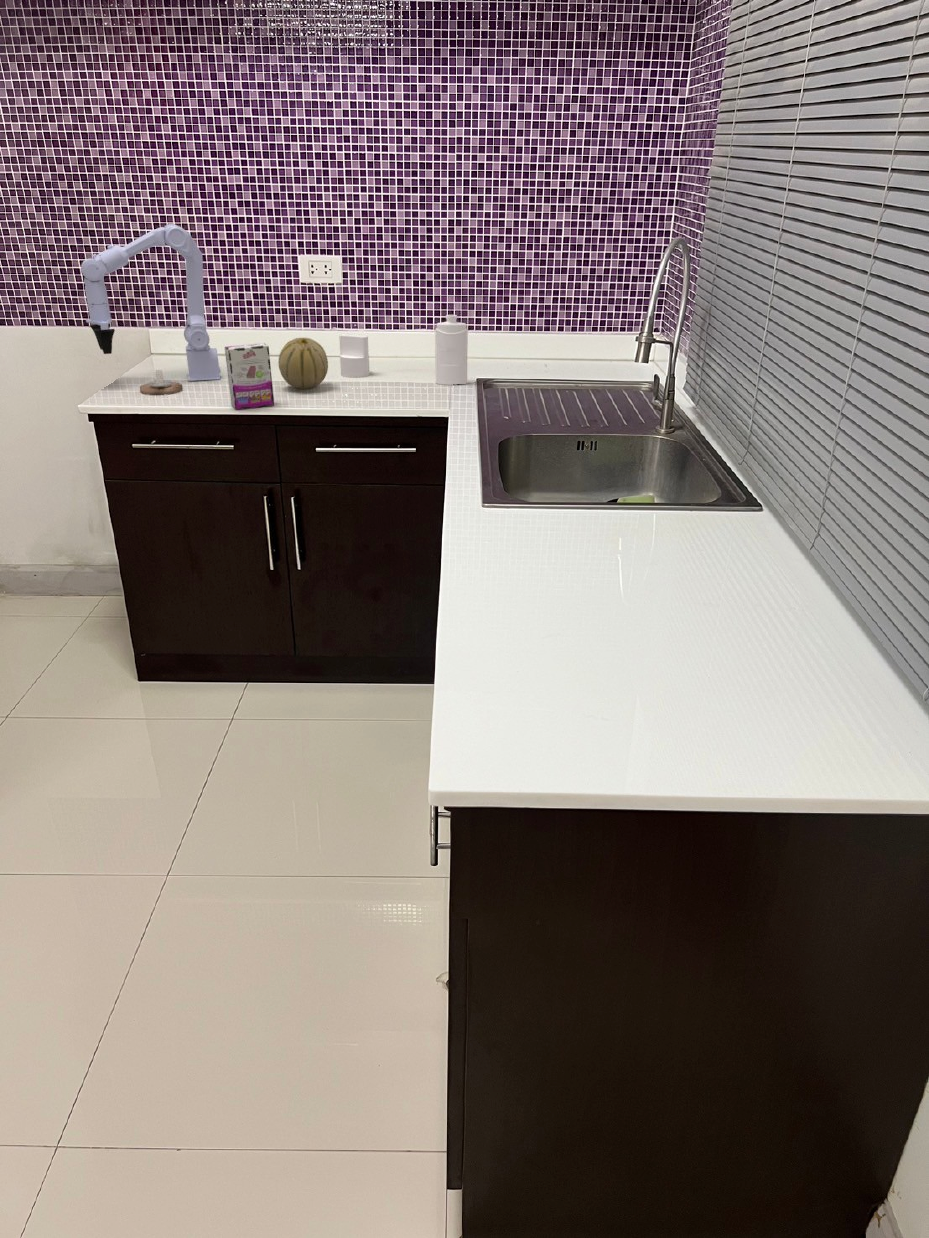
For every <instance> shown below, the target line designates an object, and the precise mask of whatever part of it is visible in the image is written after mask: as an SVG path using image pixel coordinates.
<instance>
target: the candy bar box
mask: <svg viewBox="0 0 929 1238" xmlns="http://www.w3.org/2000/svg"><path fill="white" fill-rule="evenodd" d="M224 354H225V362H226V369H227V370H226V371H227V379H228V380H227V381H228V386H229V395H230V405H231V407H232V408H233V409H234V410H236V411H237V410H240V411H241V410H247V409H248V410H249V409H256V408H267V407H272V406H275V397H274V388H273V387H274V386H273V378H272V368H271V358H270V348H269V345H268V344H266V343H265V342H263V343H261V342H260V343H249V344H240V345H230V346H224Z"/></svg>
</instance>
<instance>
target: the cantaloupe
mask: <svg viewBox="0 0 929 1238" xmlns="http://www.w3.org/2000/svg"><path fill="white" fill-rule="evenodd" d="M278 369H279V372H280V375H281V377H282V379H283V380H284V381H285V382H286V384H288V385H290V386H291V387H293V388H296V389H300V390H308V389H313V388H316V387H317V386H319V385H320V384H321V383H322V382H323V381H324V380H325V378H326V376H327V373H328V371H329V361H328V356H327V352H326V351H325V349H324V347H323V346H322V345H321V344H320V343H319V342H317V341H316V340H314V339H312V338H310V337H296V338H294V339H292V340H289V341H287V342H286V343H285V344H284V346H283V347H282V348H281V350H280V352H279V355H278Z"/></svg>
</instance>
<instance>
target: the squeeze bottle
mask: <svg viewBox="0 0 929 1238" xmlns="http://www.w3.org/2000/svg"><path fill="white" fill-rule="evenodd" d="M457 319H458V315H457V314H446V315H445V321H443V322H437V323H436V328H435V330H434V332H435V333H434V334H435V335H434V340H435V343H434V344H435V358H434V359H435V363H434V364H435V384H436V385H441V386H454V385H453V384H465V385H467V384H468V340H469V339H468V335H469V334H468V333H469V332H468V330H469V329H468V328H467V324H466V323H465V322H459V321H457ZM466 383H467V384H466Z"/></svg>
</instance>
